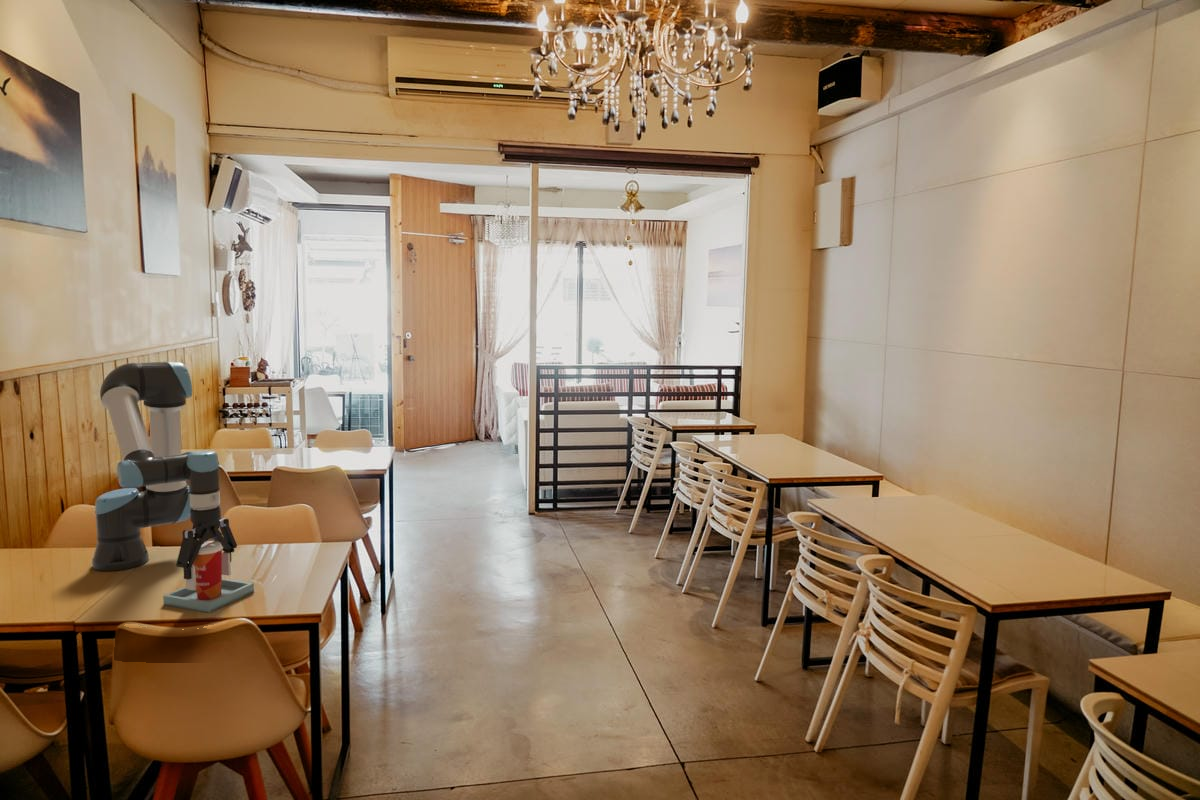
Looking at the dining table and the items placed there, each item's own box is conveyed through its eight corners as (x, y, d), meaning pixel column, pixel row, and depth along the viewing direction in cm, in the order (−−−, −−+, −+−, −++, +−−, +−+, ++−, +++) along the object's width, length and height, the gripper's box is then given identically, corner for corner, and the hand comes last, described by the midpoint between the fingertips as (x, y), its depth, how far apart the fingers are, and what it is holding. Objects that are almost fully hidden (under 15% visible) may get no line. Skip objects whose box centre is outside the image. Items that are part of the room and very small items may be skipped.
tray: (163, 604, 206) (163, 595, 205) (210, 584, 221) (209, 576, 220) (209, 612, 201) (209, 603, 200) (254, 591, 216) (253, 583, 216)
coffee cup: (188, 595, 211) (185, 544, 209) (219, 588, 216) (217, 538, 215) (198, 604, 205) (195, 551, 203) (230, 596, 210) (227, 545, 209)
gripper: (179, 519, 195) (184, 598, 198) (248, 497, 218) (251, 569, 220) (157, 516, 197) (162, 595, 200) (227, 495, 220) (231, 566, 223)
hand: (209, 581), depth 210 cm, fingers open, 11 cm apart
